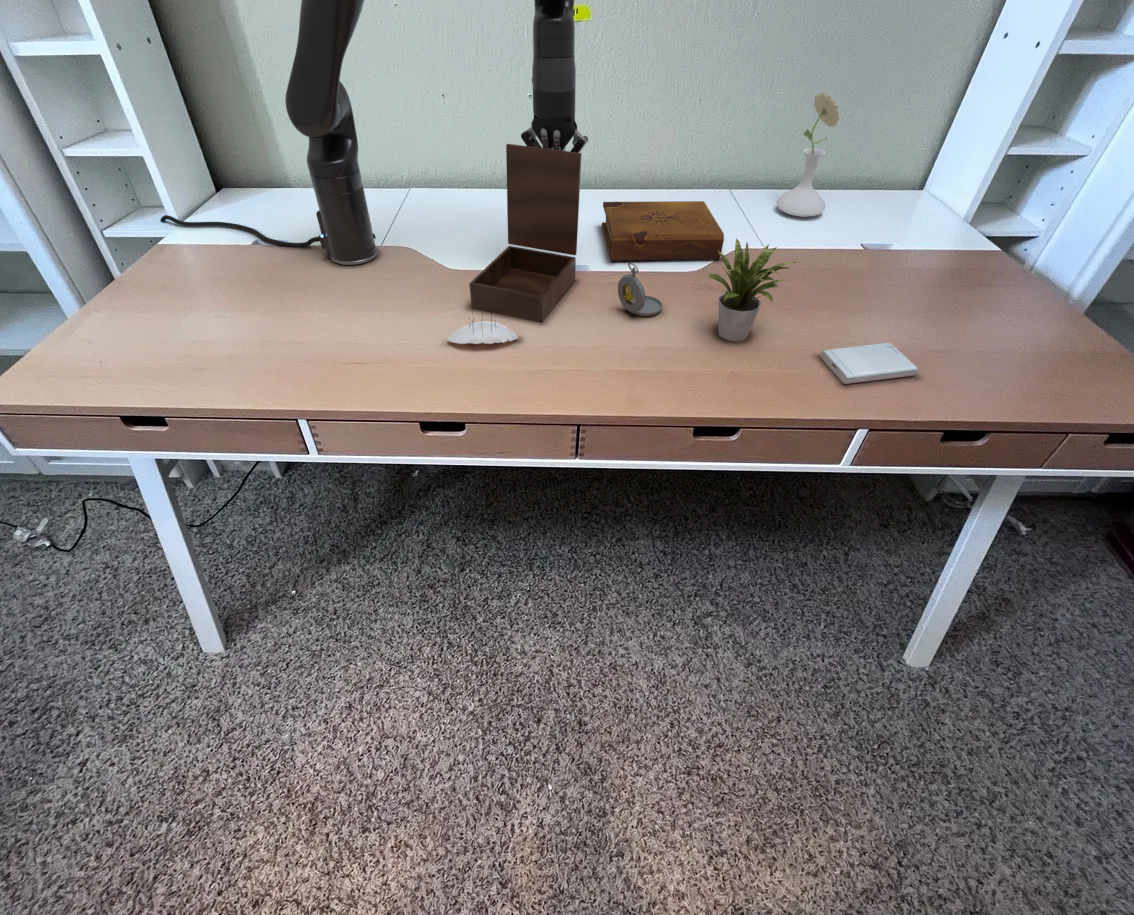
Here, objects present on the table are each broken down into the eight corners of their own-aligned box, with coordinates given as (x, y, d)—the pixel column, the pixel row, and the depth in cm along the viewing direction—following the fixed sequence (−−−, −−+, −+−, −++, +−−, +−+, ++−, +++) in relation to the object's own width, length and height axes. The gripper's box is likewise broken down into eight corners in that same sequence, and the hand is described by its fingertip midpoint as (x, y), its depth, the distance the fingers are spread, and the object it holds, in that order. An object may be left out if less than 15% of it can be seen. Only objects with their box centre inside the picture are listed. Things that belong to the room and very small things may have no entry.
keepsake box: (542, 322, 112) (542, 297, 109) (471, 308, 116) (469, 283, 112) (575, 281, 124) (575, 257, 121) (510, 269, 128) (508, 245, 124)
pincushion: (447, 352, 105) (442, 323, 101) (448, 333, 109) (444, 304, 105) (518, 349, 105) (517, 320, 102) (517, 330, 110) (515, 301, 106)
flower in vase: (829, 221, 147) (864, 103, 130) (780, 221, 147) (809, 102, 130) (813, 201, 157) (844, 88, 140) (768, 200, 157) (793, 87, 140)
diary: (611, 263, 130) (612, 236, 126) (601, 227, 144) (603, 201, 140) (720, 261, 131) (724, 234, 127) (700, 225, 145) (704, 200, 141)
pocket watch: (665, 303, 118) (671, 252, 111) (655, 325, 112) (661, 273, 105) (623, 296, 120) (627, 246, 113) (611, 317, 114) (614, 265, 107)
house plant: (757, 369, 102) (782, 276, 91) (680, 344, 107) (694, 253, 96) (784, 330, 111) (810, 241, 100) (711, 309, 116) (728, 222, 105)
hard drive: (889, 341, 106) (822, 348, 104) (918, 368, 100) (848, 376, 98) (885, 349, 107) (819, 357, 105) (914, 377, 101) (844, 385, 99)
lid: (580, 153, 109) (581, 153, 110) (506, 144, 112) (507, 143, 113) (575, 255, 120) (576, 254, 121) (507, 244, 124) (509, 242, 124)
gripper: (596, 83, 110) (593, 185, 121) (527, 76, 113) (530, 176, 125) (582, 93, 105) (580, 198, 116) (510, 86, 108) (515, 189, 120)
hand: (554, 186), depth 121 cm, fingers closed
